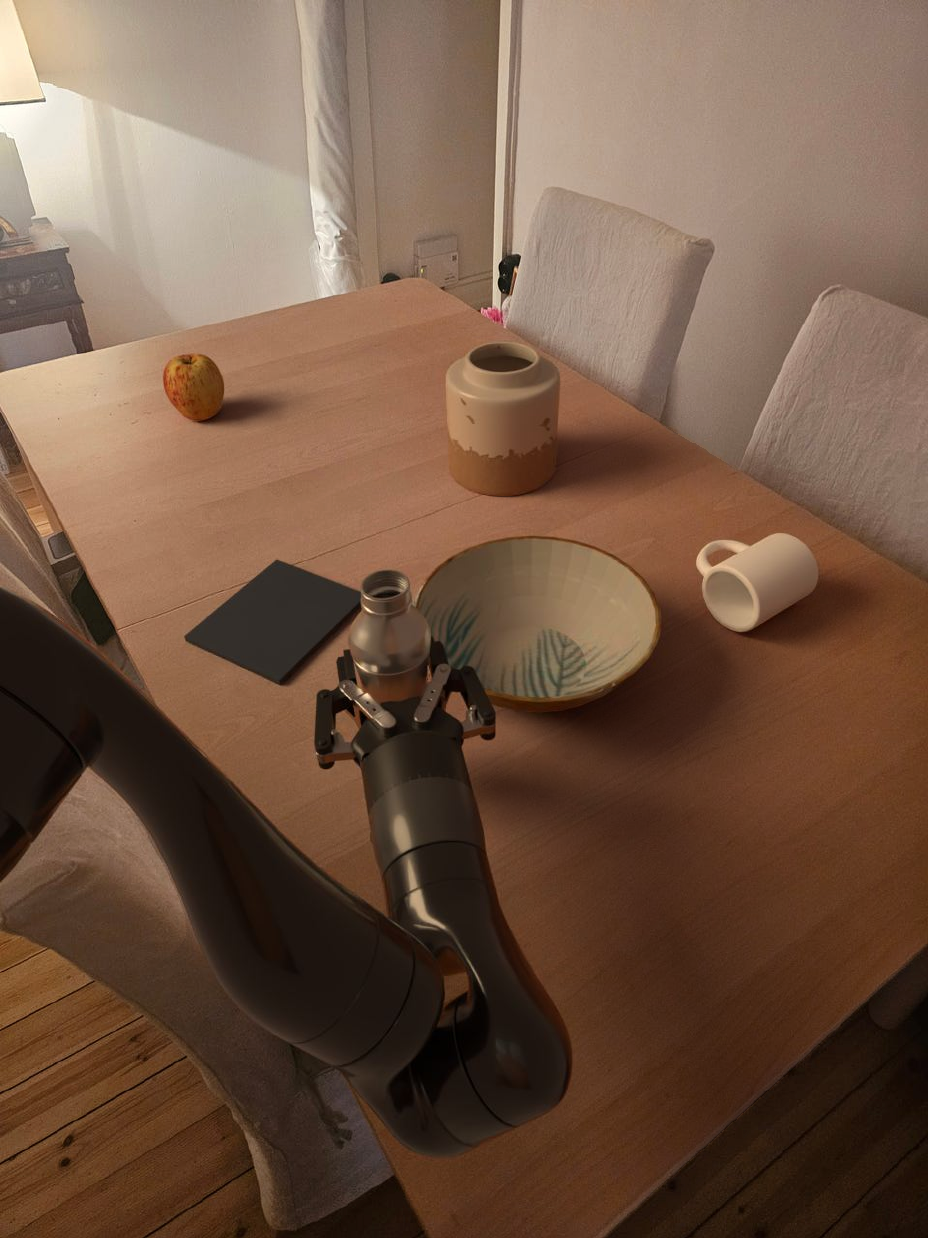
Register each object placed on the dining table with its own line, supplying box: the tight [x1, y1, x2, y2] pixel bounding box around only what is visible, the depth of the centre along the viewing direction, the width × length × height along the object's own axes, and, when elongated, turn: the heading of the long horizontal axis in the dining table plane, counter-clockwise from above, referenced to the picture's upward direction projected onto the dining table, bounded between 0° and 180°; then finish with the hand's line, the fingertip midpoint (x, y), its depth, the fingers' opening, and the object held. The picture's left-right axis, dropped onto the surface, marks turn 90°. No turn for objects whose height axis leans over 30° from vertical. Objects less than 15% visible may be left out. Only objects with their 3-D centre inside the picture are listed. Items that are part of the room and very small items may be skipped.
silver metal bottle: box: [347, 569, 431, 705], centre depth 68 cm, size 6×7×20 cm
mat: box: [183, 559, 361, 686], centre depth 95 cm, size 16×14×1 cm
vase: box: [444, 340, 561, 497], centre depth 112 cm, size 15×15×17 cm
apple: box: [162, 353, 225, 422], centre depth 129 cm, size 9×9×10 cm
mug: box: [695, 532, 819, 633], centre depth 93 cm, size 12×10×8 cm
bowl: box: [413, 535, 662, 713], centre depth 86 cm, size 25×25×8 cm
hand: (388, 650), depth 69 cm, fingers closed on silver metal bottle, 6 cm apart
